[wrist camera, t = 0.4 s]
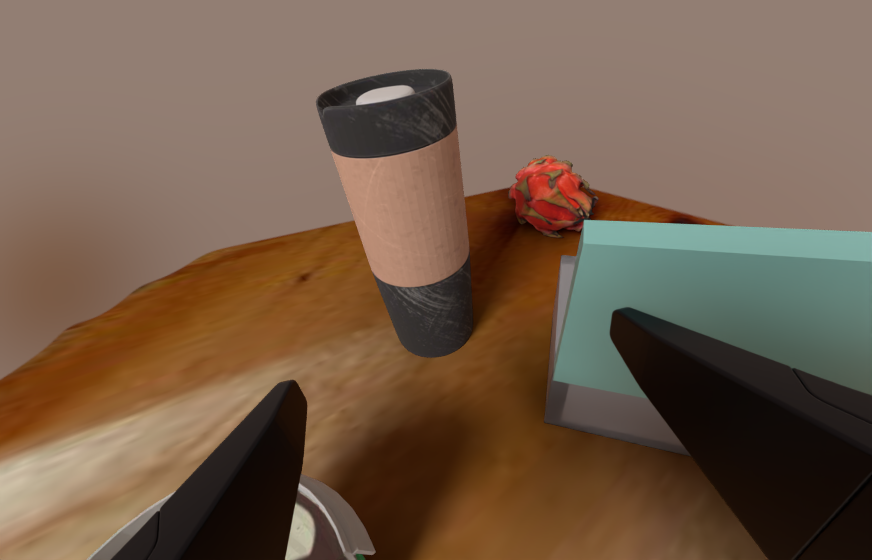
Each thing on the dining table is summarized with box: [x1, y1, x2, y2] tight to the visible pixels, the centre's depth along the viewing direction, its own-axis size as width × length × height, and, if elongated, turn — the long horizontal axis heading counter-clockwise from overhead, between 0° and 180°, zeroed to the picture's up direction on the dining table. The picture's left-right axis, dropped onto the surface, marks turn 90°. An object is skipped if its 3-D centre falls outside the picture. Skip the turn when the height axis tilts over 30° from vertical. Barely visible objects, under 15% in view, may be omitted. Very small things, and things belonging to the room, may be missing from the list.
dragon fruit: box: [508, 155, 598, 238], centre depth 38 cm, size 8×8×12 cm
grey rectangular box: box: [544, 255, 691, 456], centre depth 21 cm, size 10×16×7 cm, turn 72°
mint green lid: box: [553, 220, 872, 399], centre depth 11 cm, size 10×16×1 cm
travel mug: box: [316, 69, 473, 357], centre depth 24 cm, size 8×8×20 cm
